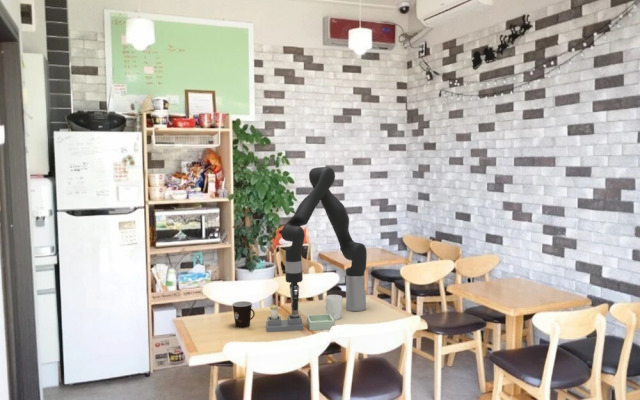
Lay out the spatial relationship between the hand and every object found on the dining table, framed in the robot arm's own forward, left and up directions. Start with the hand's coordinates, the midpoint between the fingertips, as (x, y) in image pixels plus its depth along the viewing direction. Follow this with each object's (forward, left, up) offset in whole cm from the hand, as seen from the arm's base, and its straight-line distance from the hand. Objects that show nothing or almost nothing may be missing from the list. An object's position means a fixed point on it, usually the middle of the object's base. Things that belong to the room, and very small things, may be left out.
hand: (294, 308), depth 232 cm
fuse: (+9, 0, -6) cm, 11 cm away
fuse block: (+5, 0, -8) cm, 10 cm away
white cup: (-19, -10, -9) cm, 23 cm away
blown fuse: (0, 0, -3) cm, 3 cm away
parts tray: (-11, +1, -8) cm, 14 cm away
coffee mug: (+23, -5, -9) cm, 25 cm away
